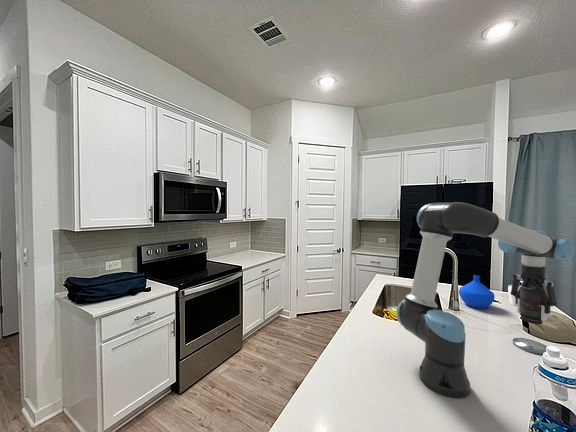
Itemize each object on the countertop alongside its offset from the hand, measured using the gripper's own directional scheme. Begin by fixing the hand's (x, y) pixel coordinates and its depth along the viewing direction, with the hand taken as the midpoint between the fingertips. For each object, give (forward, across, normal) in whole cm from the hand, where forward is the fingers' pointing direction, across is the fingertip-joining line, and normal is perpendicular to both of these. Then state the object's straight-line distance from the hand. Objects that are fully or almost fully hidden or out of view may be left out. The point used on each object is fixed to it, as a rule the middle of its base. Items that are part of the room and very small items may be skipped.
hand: (531, 316), depth 110 cm
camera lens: (+2, 0, 0) cm, 2 cm away
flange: (+14, 0, 0) cm, 14 cm away
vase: (+14, +43, -27) cm, 53 cm away
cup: (+14, +36, -54) cm, 66 cm away
